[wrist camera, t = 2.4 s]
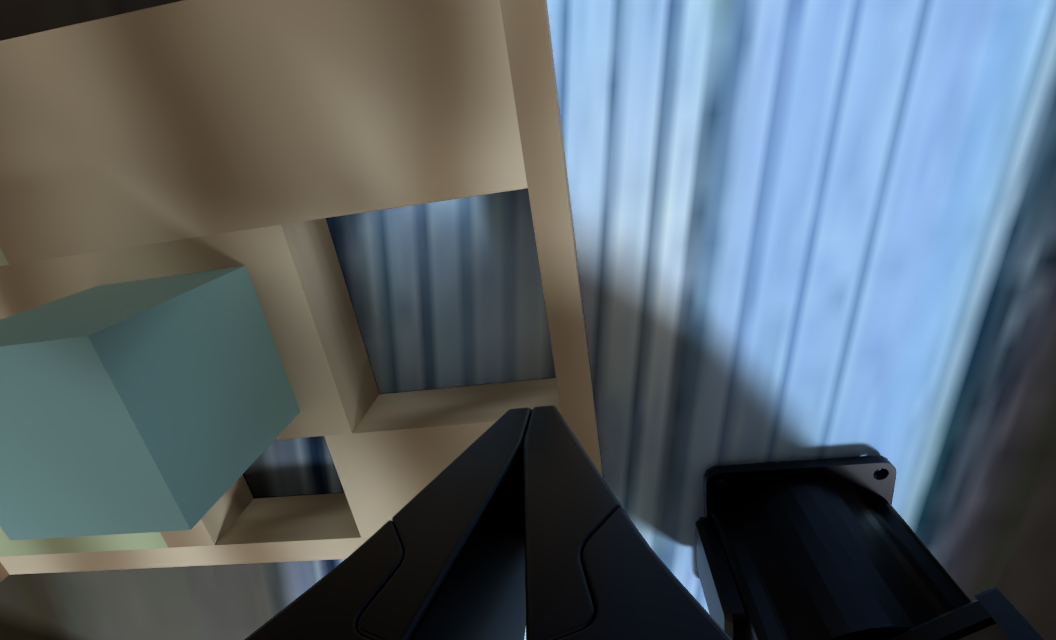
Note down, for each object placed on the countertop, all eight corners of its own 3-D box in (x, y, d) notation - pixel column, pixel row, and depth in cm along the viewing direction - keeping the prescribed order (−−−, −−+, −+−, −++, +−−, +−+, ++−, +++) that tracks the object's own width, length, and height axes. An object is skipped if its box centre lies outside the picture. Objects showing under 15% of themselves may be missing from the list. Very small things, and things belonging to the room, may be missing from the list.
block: (245, 265, 14) (87, 335, 10) (300, 411, 16) (190, 529, 11) (96, 286, 15) (-119, 360, 10) (165, 424, 17) (10, 540, 12)
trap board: (541, -42, 13) (517, -165, 7) (605, 495, 19) (618, 645, 14) (-227, 119, 16) (-636, 120, 11) (48, 529, 23) (-120, 660, 17)
